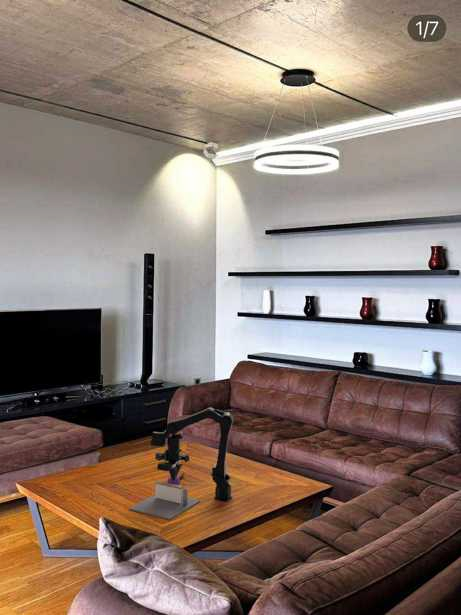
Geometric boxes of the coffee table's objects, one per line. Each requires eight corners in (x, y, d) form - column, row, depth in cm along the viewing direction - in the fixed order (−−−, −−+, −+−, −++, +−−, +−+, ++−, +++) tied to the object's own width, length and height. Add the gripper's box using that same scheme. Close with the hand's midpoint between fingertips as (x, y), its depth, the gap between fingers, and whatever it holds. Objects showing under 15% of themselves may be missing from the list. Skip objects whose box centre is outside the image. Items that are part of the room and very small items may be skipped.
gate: (182, 502, 267) (182, 486, 266) (180, 503, 265) (180, 487, 265) (157, 496, 274) (157, 480, 273) (155, 497, 272) (155, 481, 272)
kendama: (188, 469, 304) (179, 479, 285) (185, 480, 304) (176, 491, 285) (177, 466, 305) (167, 476, 286) (174, 477, 305) (164, 488, 286)
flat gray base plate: (200, 501, 271) (200, 484, 270) (170, 520, 250) (170, 501, 249) (160, 492, 281) (161, 475, 281) (128, 509, 260) (128, 491, 260)
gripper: (170, 440, 289) (170, 471, 290) (147, 449, 273) (147, 483, 273) (190, 443, 283) (189, 475, 284) (167, 453, 267) (167, 487, 268)
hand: (173, 480), depth 278 cm, fingers closed
